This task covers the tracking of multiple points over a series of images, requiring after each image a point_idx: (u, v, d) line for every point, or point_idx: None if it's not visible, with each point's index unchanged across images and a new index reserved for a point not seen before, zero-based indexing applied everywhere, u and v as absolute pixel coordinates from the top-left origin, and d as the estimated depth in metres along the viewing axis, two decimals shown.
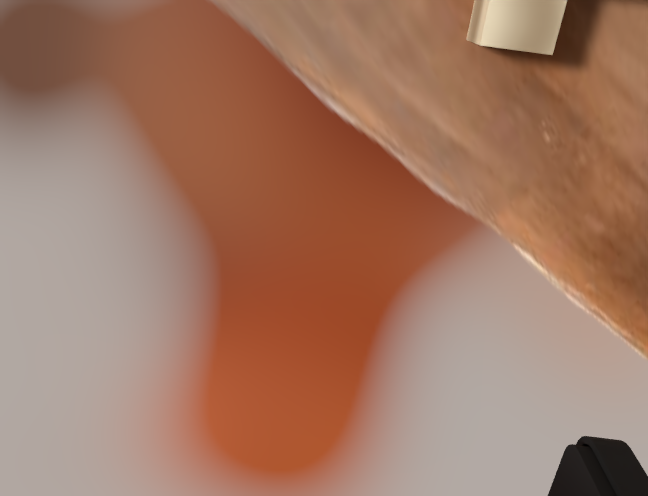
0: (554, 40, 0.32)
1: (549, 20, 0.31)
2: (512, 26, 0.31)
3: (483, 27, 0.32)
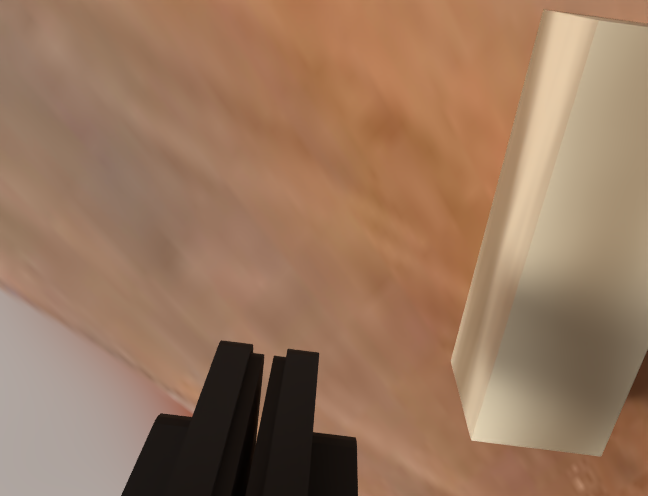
0: (605, 437, 0.18)
1: (598, 410, 0.17)
2: (529, 416, 0.17)
3: (477, 414, 0.18)
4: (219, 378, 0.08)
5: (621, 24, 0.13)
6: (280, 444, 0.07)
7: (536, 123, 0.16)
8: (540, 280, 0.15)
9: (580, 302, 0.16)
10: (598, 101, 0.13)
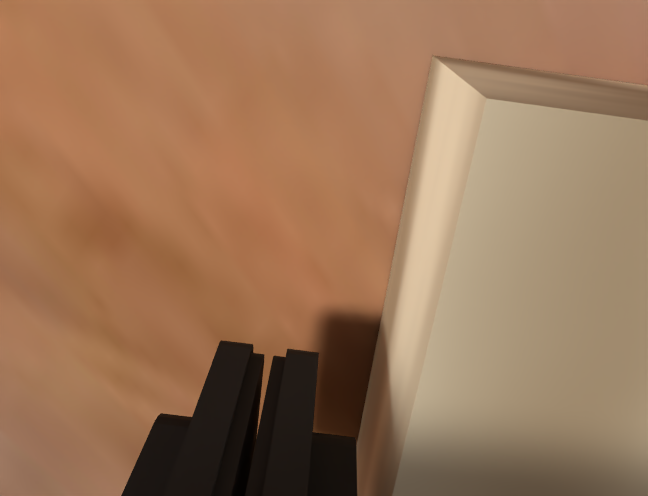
0: None
1: None
2: None
3: None
4: (219, 378, 0.08)
5: (538, 107, 0.06)
6: (279, 444, 0.07)
7: (412, 262, 0.09)
8: None
9: None
10: (499, 261, 0.06)
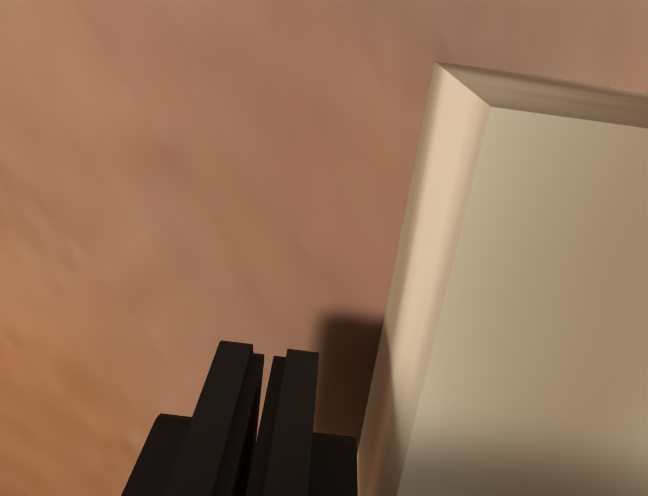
0: None
1: None
2: None
3: None
4: (219, 378, 0.08)
5: (542, 115, 0.06)
6: (280, 444, 0.07)
7: (415, 267, 0.09)
8: None
9: None
10: (502, 268, 0.06)
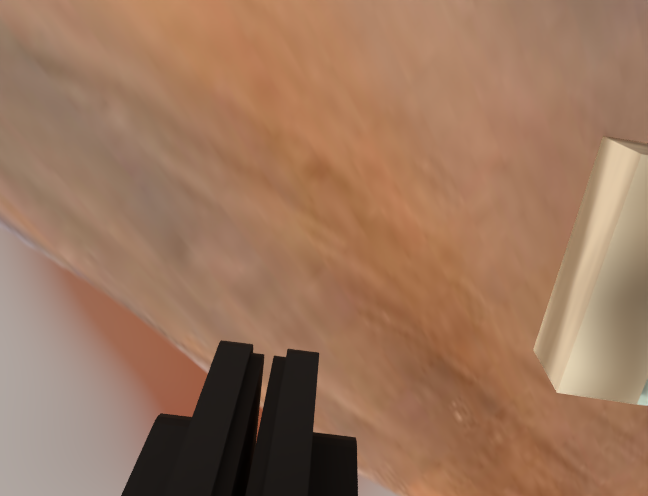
0: (639, 391, 0.29)
1: (635, 373, 0.28)
2: (593, 377, 0.28)
3: (561, 375, 0.29)
4: (219, 378, 0.08)
5: None
6: (280, 444, 0.07)
7: (600, 202, 0.27)
8: (604, 292, 0.27)
9: (627, 305, 0.27)
10: (640, 194, 0.25)
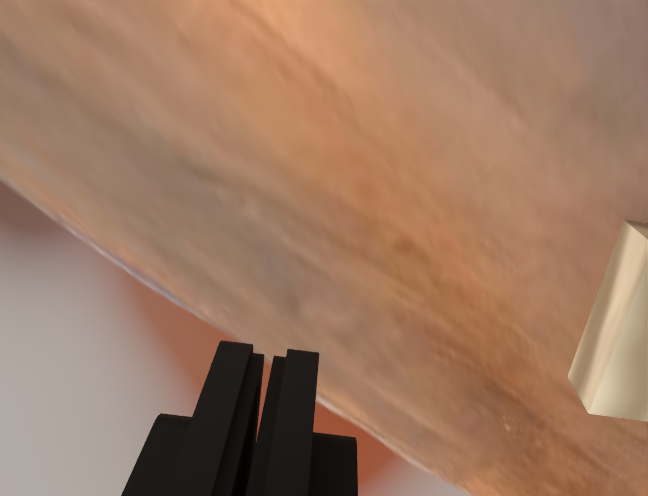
0: None
1: None
2: (616, 402, 0.38)
3: (592, 401, 0.38)
4: (219, 378, 0.08)
5: None
6: (280, 444, 0.07)
7: (622, 272, 0.36)
8: (625, 341, 0.36)
9: (642, 350, 0.36)
10: None
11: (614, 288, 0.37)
